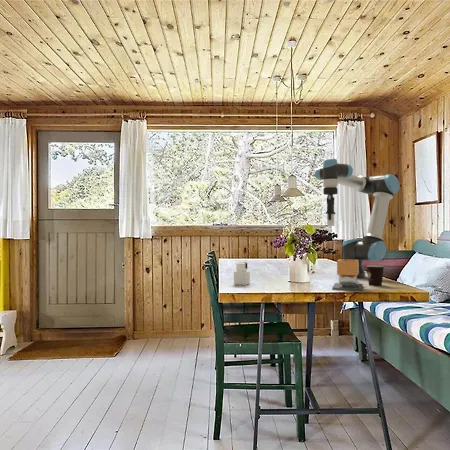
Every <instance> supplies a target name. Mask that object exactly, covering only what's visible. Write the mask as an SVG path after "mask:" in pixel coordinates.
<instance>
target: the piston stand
mask: <svg viewBox="0 0 450 450" xmlns="http://www.w3.org/2000/svg"><path fill="white" fill-rule="evenodd" d="M362 287H363V288H364V284H363V283H358V278H357V275H338V282H334V285H333V286H332V290H333V291H353V292H357V291H358V292H362V291H363V288H362Z"/></svg>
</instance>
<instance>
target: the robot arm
mask: <svg viewBox="0 0 450 450" xmlns="http://www.w3.org/2000/svg"><path fill="white" fill-rule="evenodd" d="M353 172H354V169H353V167H352V165H351V164H347V163H338V160H337V159H336V158H326V159H325V158H324V160H323V161H322V166H319V167H317V168H316V169H315V170H314V176H315V179H316V180H317V181H318V180H319V181H322V182H321V183H322V185H323V189H322V190H323V192H322V193H323V195H325V196H326V211H325V214H326V218H327V219H326V220H327V221H326V222H327V223H326V224H327V227H334V226H335V215H336V212H335V197H334V195H337V194H338V186H339V185H341V186H345V187H349V188H351V189H354V190H355V191H356V192H359V193H362V194H365V195H370V196H371V195H372V196H373V197H374V200H373V206H372V209H371V214H370V218H369V223H368V227H367V228H368V229H367V232H366V234H365V235H364V236H363V238H359V237H358V238H348V239H344V240H343V241H342V246H341V248H342V249H341V251H342V259H351V260H358V265H359V273H358V275H357V279H359V278H366V270H365V267H364V265H363V261H371V262H380V261H381V260H382V259H383V258H384V257H385V256H386V254H387V245H386V243H385V242H384V239H383V234H384V233H383V232H384V229H385V228H384V227H385V223H386V220H387V214H388V210H389V209H388V208H389V204H390V201H391V200H392V199H393V198H394V195H395V194H397V193H399V191H400V182H399V179H398V178H397V176H396V175H394V174H389V173H388V174H380V175H372V176H362V175H359V176H357V175H353V174H354V173H353Z"/></svg>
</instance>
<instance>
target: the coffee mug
mask: <svg viewBox="0 0 450 450" xmlns="http://www.w3.org/2000/svg"><path fill="white" fill-rule="evenodd" d="M384 268H385V267H384V266H383V265H373V264H371V265H370V264H369V265H366V270H365V273H366V274H367V279H368V280H367V282H368V286H371V285H374V286H373V287H382V286H381V285H382V284H383V279H384V278H383V276H384Z"/></svg>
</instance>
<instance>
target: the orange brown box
mask: <svg viewBox="0 0 450 450" xmlns="http://www.w3.org/2000/svg"><path fill="white" fill-rule="evenodd" d="M358 273H359V265H358V260H351V259H343V258H342V259H341V258H338V259H337V260H336V275H338V276H339V275H358Z"/></svg>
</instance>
